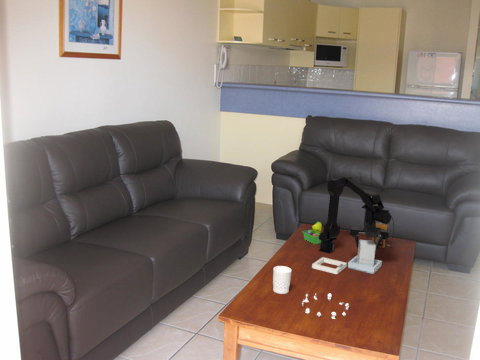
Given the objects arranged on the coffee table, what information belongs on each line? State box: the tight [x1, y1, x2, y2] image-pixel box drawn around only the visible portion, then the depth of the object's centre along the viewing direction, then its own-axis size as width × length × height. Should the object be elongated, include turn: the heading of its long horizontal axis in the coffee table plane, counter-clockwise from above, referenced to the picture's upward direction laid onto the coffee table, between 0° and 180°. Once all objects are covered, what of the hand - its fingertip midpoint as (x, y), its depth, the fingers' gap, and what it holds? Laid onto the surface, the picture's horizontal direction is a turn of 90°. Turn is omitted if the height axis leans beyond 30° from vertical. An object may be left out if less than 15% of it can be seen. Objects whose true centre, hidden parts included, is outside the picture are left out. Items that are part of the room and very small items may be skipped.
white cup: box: [272, 265, 293, 295], centre depth 229 cm, size 8×8×10 cm
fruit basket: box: [302, 221, 323, 245], centre depth 299 cm, size 11×9×11 cm
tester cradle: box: [311, 256, 348, 275], centre depth 261 cm, size 13×13×3 cm
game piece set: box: [301, 292, 350, 320], centre depth 215 cm, size 19×20×4 cm
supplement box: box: [356, 239, 376, 267], centre depth 263 cm, size 7×7×13 cm
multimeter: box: [366, 215, 395, 249], centre depth 299 cm, size 15×10×20 cm
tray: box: [347, 255, 383, 275], centre depth 264 cm, size 13×13×3 cm
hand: (366, 249), depth 262 cm, fingers open, 9 cm apart
